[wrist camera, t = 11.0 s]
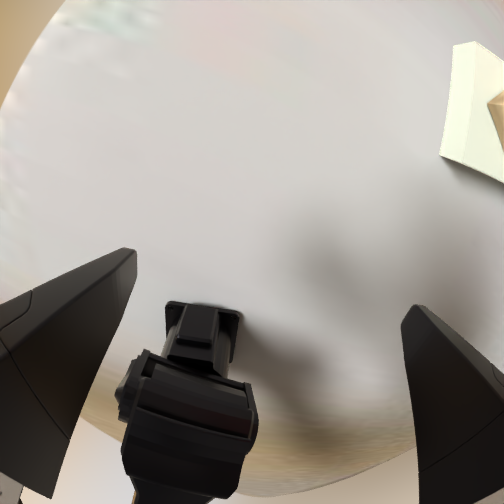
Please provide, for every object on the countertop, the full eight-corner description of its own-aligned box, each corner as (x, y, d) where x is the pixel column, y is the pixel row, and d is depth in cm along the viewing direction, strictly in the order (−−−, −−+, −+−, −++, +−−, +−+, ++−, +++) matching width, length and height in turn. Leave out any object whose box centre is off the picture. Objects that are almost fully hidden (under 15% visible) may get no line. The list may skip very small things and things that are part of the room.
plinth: (505, 184, 19) (528, 195, 16) (436, 154, 19) (461, 162, 16) (519, 93, 15) (543, 96, 12) (450, 46, 15) (475, 41, 11)
